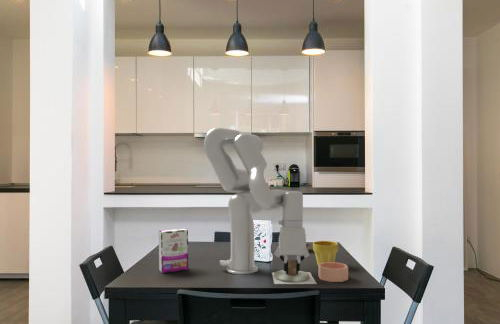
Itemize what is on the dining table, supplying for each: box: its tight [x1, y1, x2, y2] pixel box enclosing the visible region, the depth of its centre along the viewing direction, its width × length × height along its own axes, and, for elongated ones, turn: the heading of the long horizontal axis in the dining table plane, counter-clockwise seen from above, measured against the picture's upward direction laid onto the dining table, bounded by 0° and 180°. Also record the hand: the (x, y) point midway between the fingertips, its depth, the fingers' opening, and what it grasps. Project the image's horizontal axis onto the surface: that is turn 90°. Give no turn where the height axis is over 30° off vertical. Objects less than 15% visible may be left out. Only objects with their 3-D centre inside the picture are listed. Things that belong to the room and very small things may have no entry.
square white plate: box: [271, 271, 318, 285], centre depth 145 cm, size 15×15×1 cm
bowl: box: [317, 262, 349, 283], centre depth 146 cm, size 10×10×5 cm
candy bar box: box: [158, 228, 189, 274], centre depth 158 cm, size 11×5×16 cm, turn 117°
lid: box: [274, 259, 309, 282], centre depth 146 cm, size 13×13×6 cm
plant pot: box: [312, 240, 339, 266], centre depth 165 cm, size 10×10×10 cm
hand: (291, 272), depth 146 cm, fingers closed on lid, 3 cm apart
